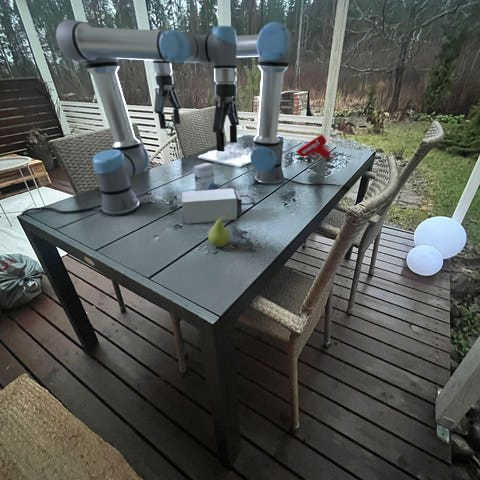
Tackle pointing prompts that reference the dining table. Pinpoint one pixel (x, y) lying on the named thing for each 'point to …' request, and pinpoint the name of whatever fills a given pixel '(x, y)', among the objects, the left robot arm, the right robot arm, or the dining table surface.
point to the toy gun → (314, 147)
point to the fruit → (218, 234)
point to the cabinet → (209, 205)
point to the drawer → (243, 203)
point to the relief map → (229, 156)
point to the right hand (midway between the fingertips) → (170, 126)
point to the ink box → (204, 176)
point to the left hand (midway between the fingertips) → (227, 146)
